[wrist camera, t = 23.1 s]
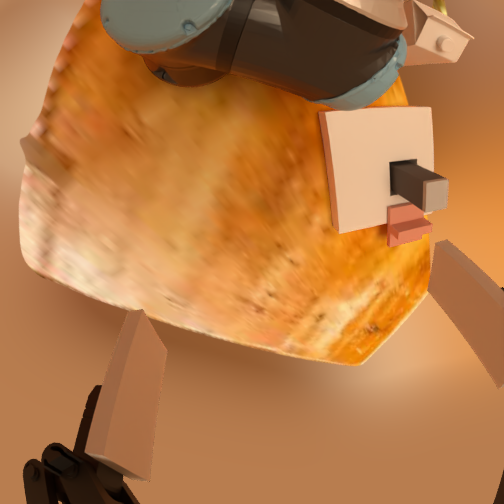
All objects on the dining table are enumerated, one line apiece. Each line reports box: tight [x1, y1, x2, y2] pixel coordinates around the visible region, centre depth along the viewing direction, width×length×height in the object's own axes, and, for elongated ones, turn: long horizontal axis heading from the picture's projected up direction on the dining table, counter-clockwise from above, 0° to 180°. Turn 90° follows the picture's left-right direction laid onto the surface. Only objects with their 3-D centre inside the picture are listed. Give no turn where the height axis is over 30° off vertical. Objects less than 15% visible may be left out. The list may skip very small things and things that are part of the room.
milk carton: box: [402, 0, 475, 66], centre depth 24 cm, size 7×7×19 cm
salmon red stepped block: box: [387, 202, 432, 247], centre depth 43 cm, size 8×8×4 cm
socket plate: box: [318, 106, 434, 234], centre depth 42 cm, size 20×20×4 cm
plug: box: [389, 160, 449, 213], centre depth 38 cm, size 4×4×13 cm
